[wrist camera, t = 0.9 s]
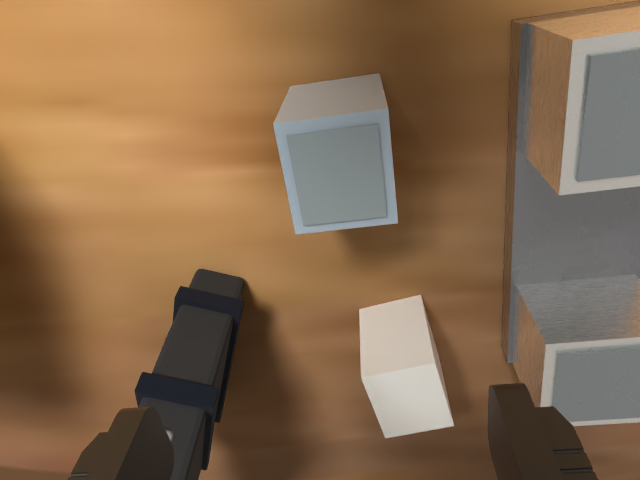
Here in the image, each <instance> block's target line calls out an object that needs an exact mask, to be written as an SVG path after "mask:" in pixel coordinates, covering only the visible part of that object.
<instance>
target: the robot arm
mask: <svg viewBox="0 0 640 480" xmlns="http://www.w3.org/2000/svg"><path fill="white" fill-rule="evenodd" d="M488 438H489V445H490V451H491V455H492V459H493V463H494V466H495V470H496V473H497V477H498V480H598V479H597V476H596V474H595V472H593V470H592V466H591V464H590V461H589V459H588V457H587V455H586V453H584V450H583V446H582V444H581V442H580V440H579V438H578V436H577V434H576V431H575V429H574V427H573V425H572V424H571V423H570V422H569V421H568V420H567V419H566V418H565V417H564V416H563V415H562V414H561V413H560V412H559V411H558V410H557V409H556V408H555V407H554V406H550V407H535V405H534V403H533V401H532V398H531V396H530V393H529V391H528V388H527V387H526V385H525V384H524V383H516V384H501V385H490V387H489V405H488ZM173 467H174V449H173V445H172V443H171V441H170V439H169V436H168V434H167V432H166V430H165V428H164V425H163V423H162V421H161V419H160V417H159V414H158V412H157V410H156V409H155V408H154V407H140V408H125V409H121V410H120V411H119V412H118V413H117V415H116V417H115V419H114V421H113V423H112V425H111V427H110V429H109V431H108V432H104V433H99V434H98V435H97V436H96V438H95V439H94V440H93V441H92V442H91V443H90V444H89V445H88V446H87V447H86V448H85V449H84V450H83V452H82V453H81V455H80V457H79V459H78V461H77V463H76V465H75V467H74V469H73V470H72V472H71V477H69V478H68V480H170V478H171V475H172V472H173Z"/></svg>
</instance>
